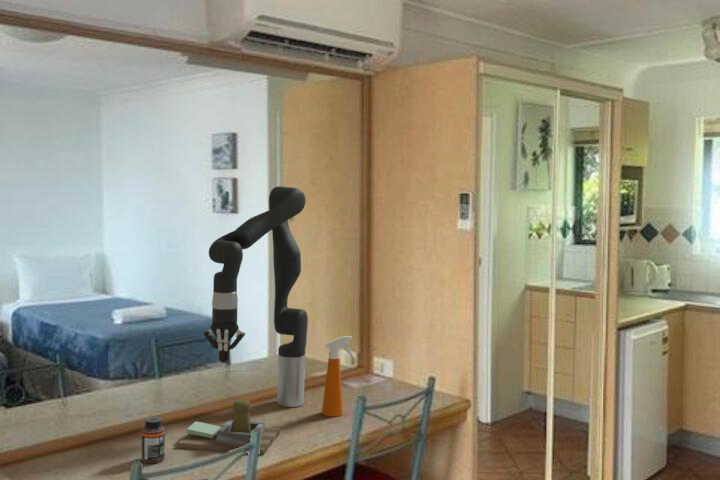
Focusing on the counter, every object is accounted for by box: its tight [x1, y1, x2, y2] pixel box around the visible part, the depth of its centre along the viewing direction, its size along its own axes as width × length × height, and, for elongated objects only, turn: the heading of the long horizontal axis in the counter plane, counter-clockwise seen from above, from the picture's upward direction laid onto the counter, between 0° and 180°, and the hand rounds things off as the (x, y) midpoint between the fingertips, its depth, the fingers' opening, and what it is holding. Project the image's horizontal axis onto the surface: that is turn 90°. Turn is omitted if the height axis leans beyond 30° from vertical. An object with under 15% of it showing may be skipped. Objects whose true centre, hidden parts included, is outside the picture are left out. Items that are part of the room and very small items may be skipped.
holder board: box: [177, 419, 281, 456], centre depth 208 cm, size 18×25×4 cm
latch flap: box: [185, 421, 222, 439], centre depth 208 cm, size 7×8×1 cm
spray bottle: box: [321, 335, 357, 418], centre depth 235 cm, size 7×11×26 cm, turn 94°
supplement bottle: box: [141, 416, 166, 464], centre depth 191 cm, size 6×6×11 cm
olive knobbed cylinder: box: [232, 399, 252, 433], centre depth 206 cm, size 6×6×11 cm
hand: (224, 362), depth 216 cm, fingers closed
